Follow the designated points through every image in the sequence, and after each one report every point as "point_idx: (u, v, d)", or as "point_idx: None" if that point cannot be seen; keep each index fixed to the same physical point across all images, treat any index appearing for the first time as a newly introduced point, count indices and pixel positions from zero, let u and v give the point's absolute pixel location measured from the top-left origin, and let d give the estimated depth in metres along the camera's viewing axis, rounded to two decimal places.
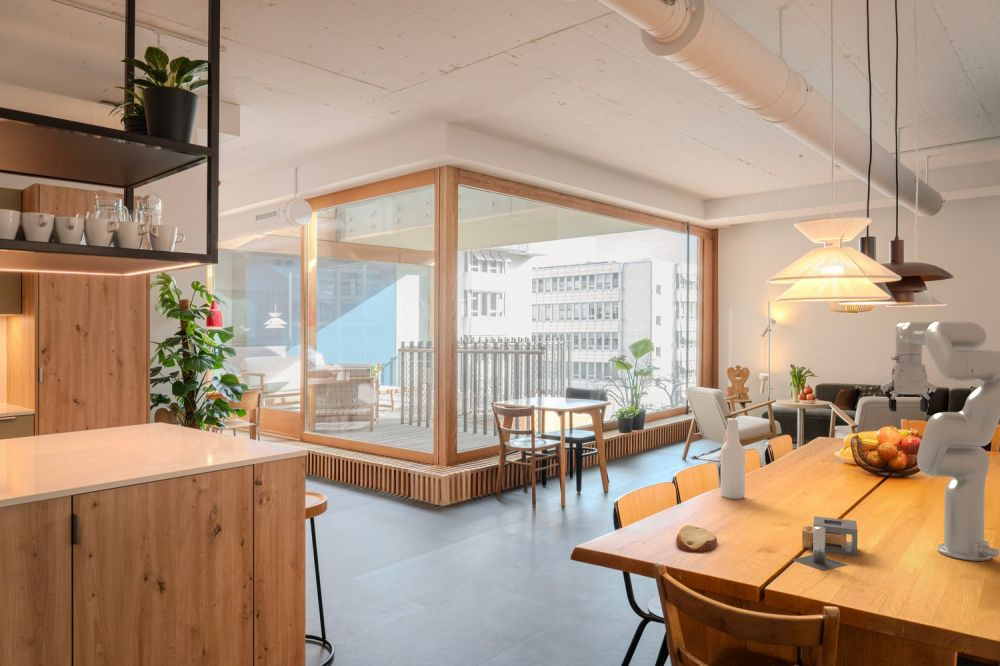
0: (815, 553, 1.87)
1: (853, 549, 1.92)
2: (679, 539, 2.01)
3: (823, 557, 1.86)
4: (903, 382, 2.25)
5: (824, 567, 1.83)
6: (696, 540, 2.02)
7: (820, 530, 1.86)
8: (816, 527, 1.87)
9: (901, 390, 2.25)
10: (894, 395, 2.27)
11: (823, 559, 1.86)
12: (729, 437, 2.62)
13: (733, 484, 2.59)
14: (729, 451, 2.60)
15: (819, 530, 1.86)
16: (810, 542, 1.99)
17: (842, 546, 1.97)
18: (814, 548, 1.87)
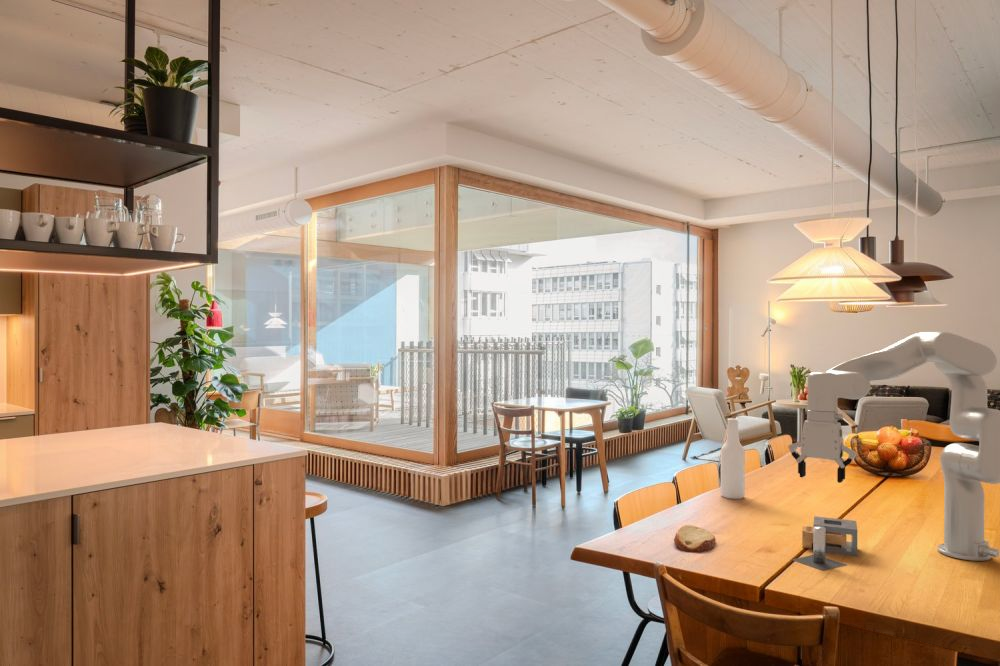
0: (815, 553, 1.87)
1: (853, 549, 1.92)
2: (677, 539, 2.01)
3: (823, 557, 1.86)
4: None
5: (824, 567, 1.83)
6: (694, 540, 2.02)
7: (820, 530, 1.86)
8: (816, 527, 1.87)
9: None
10: None
11: (823, 559, 1.86)
12: (729, 437, 2.62)
13: (733, 484, 2.59)
14: (729, 451, 2.60)
15: (819, 530, 1.86)
16: (810, 542, 1.99)
17: (842, 546, 1.97)
18: (814, 548, 1.87)
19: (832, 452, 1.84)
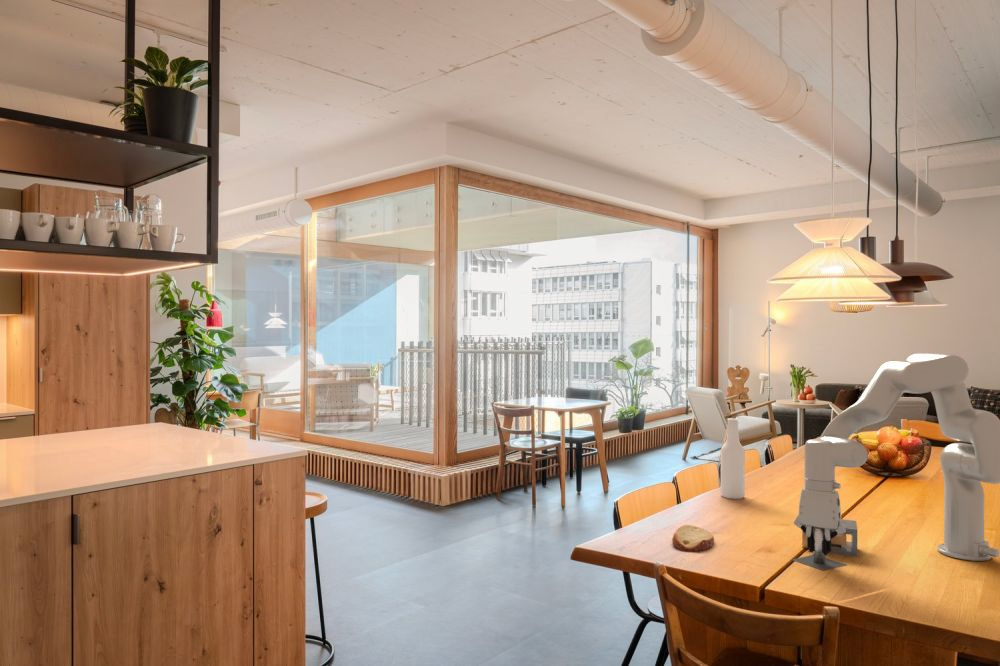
0: (815, 553, 1.87)
1: (853, 549, 1.92)
2: (675, 538, 2.02)
3: (823, 557, 1.86)
4: None
5: (824, 567, 1.83)
6: (692, 539, 2.02)
7: (820, 530, 1.86)
8: (816, 527, 1.87)
9: None
10: None
11: (823, 559, 1.86)
12: (729, 437, 2.62)
13: (733, 484, 2.59)
14: (729, 451, 2.60)
15: (819, 530, 1.86)
16: None
17: (842, 546, 1.97)
18: (814, 548, 1.87)
19: (830, 522, 1.83)
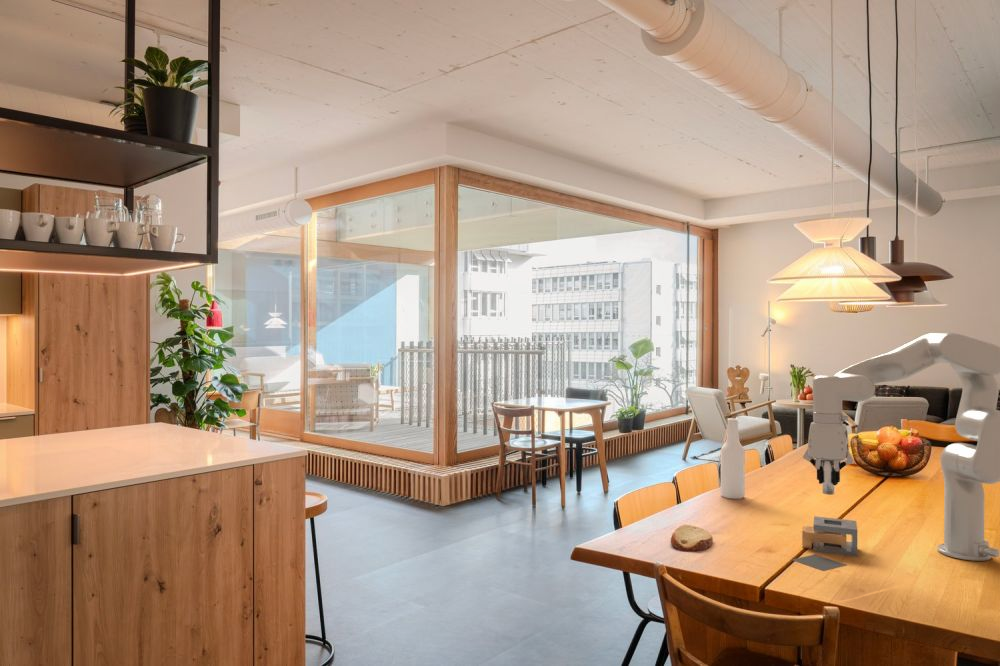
0: (824, 484, 1.93)
1: (853, 549, 1.92)
2: (673, 538, 2.02)
3: (832, 488, 1.92)
4: None
5: (824, 567, 1.83)
6: (690, 539, 2.03)
7: (829, 462, 1.92)
8: (825, 459, 1.94)
9: None
10: None
11: (832, 490, 1.92)
12: (729, 437, 2.62)
13: (733, 484, 2.59)
14: (729, 451, 2.60)
15: (828, 462, 1.92)
16: (810, 542, 1.99)
17: (842, 546, 1.97)
18: (823, 480, 1.94)
19: (839, 453, 1.90)
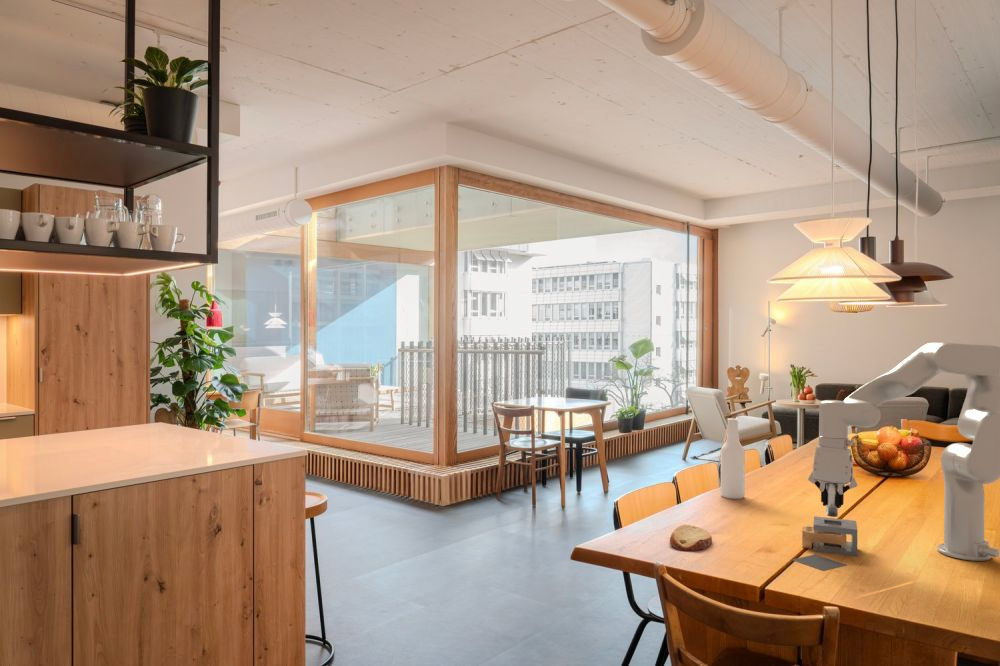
0: (828, 506, 1.98)
1: (853, 549, 1.92)
2: (672, 538, 2.02)
3: (836, 510, 1.98)
4: None
5: (824, 567, 1.83)
6: (689, 539, 2.03)
7: (833, 485, 1.98)
8: (829, 482, 1.99)
9: None
10: None
11: (836, 512, 1.98)
12: (729, 437, 2.62)
13: (733, 484, 2.59)
14: (729, 451, 2.60)
15: (832, 485, 1.98)
16: (810, 542, 1.99)
17: (842, 546, 1.97)
18: (827, 502, 1.99)
19: (843, 477, 1.95)
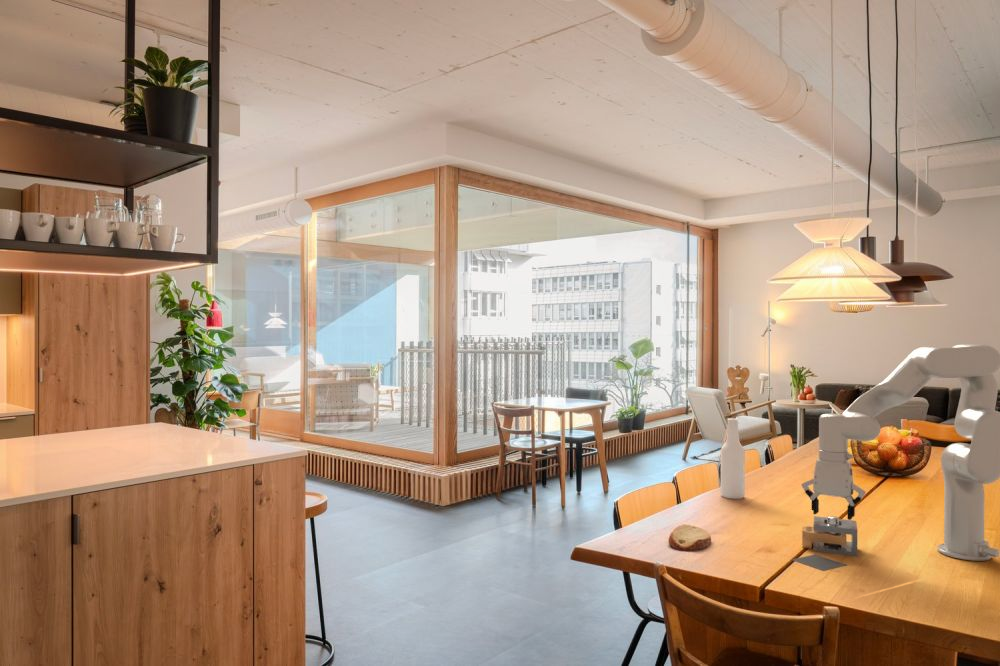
0: None
1: (853, 549, 1.92)
2: (671, 537, 2.02)
3: (837, 545, 1.98)
4: None
5: (824, 567, 1.83)
6: (688, 539, 2.03)
7: (834, 520, 1.98)
8: (830, 517, 1.99)
9: None
10: None
11: None
12: (729, 437, 2.62)
13: (733, 484, 2.59)
14: (729, 451, 2.60)
15: (833, 520, 1.98)
16: (810, 542, 1.99)
17: (842, 546, 1.97)
18: None
19: (843, 490, 1.95)
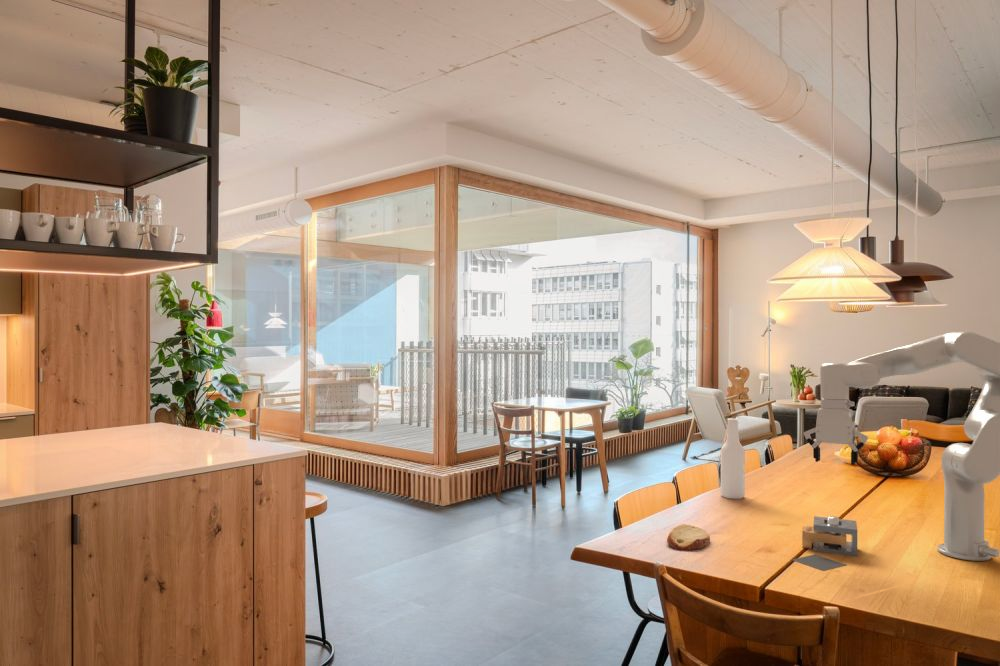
0: None
1: (853, 549, 1.92)
2: (669, 537, 2.03)
3: (837, 545, 1.98)
4: None
5: (824, 567, 1.83)
6: (687, 538, 2.03)
7: (834, 520, 1.98)
8: (830, 517, 1.99)
9: None
10: None
11: None
12: (729, 437, 2.62)
13: (733, 484, 2.59)
14: (729, 451, 2.60)
15: (833, 520, 1.98)
16: (810, 542, 1.99)
17: (842, 546, 1.97)
18: None
19: (845, 437, 1.98)
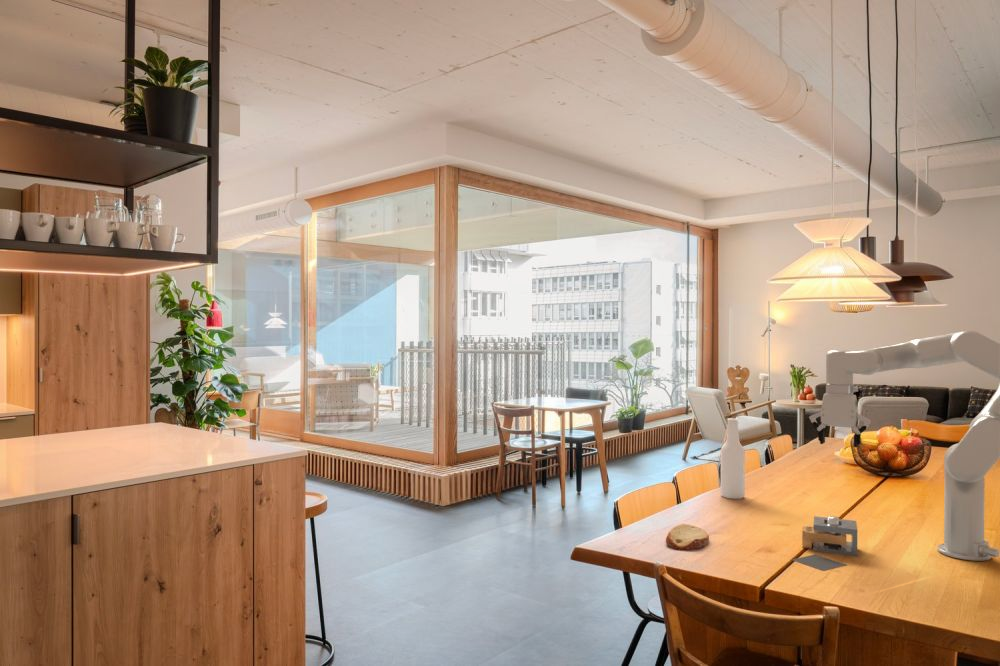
0: None
1: (853, 549, 1.92)
2: (668, 537, 2.03)
3: (837, 545, 1.98)
4: None
5: (824, 567, 1.83)
6: (686, 538, 2.03)
7: (834, 520, 1.98)
8: (830, 517, 1.99)
9: None
10: None
11: None
12: (729, 437, 2.62)
13: (733, 484, 2.59)
14: (729, 451, 2.60)
15: (833, 520, 1.98)
16: (810, 542, 1.99)
17: (842, 546, 1.97)
18: None
19: (849, 420, 2.09)
